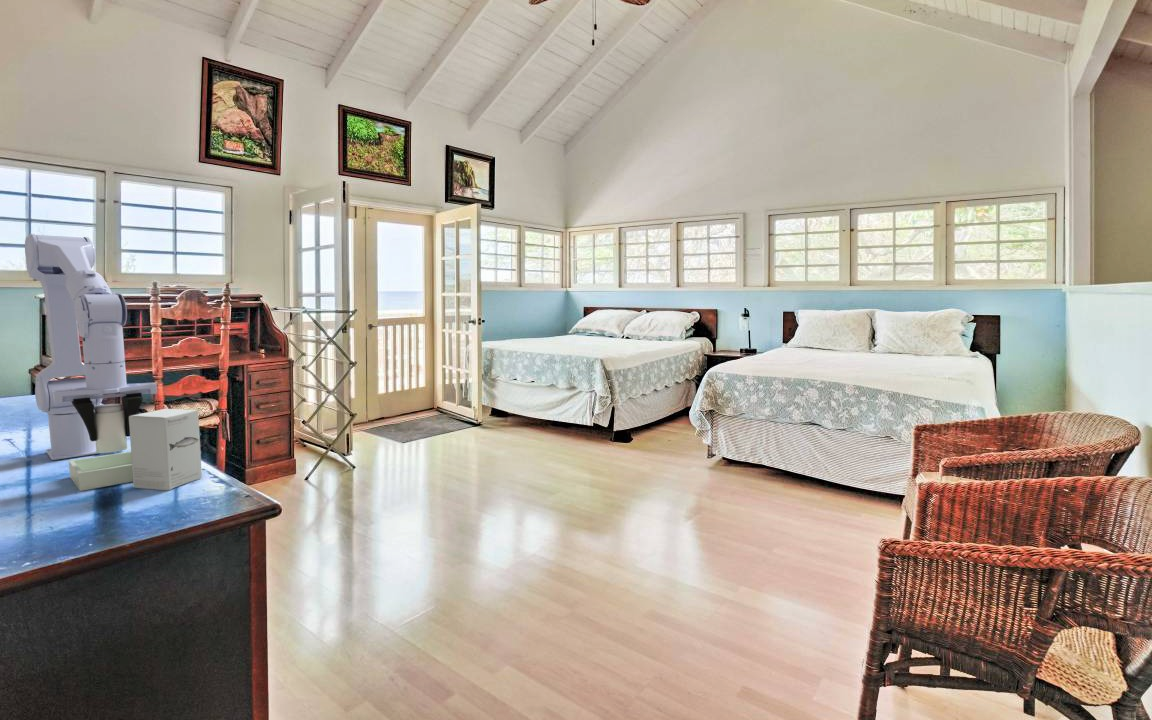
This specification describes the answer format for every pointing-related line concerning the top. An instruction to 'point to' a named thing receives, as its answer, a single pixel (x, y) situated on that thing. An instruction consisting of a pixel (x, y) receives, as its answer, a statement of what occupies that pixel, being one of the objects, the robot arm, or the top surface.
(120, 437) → the shaker
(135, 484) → the supplement box
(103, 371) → the robot arm
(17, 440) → the top surface
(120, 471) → the tray
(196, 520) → the top surface
